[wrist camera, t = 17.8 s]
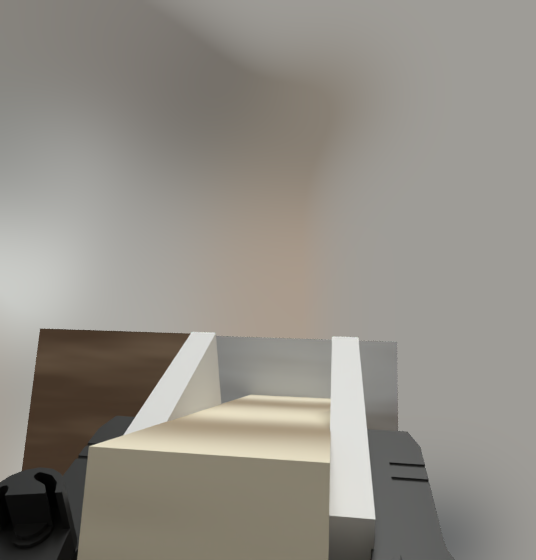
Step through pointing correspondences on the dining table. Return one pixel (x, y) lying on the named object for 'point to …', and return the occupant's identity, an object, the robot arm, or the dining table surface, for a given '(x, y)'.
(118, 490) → the hammer
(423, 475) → the robot arm
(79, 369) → the stand
